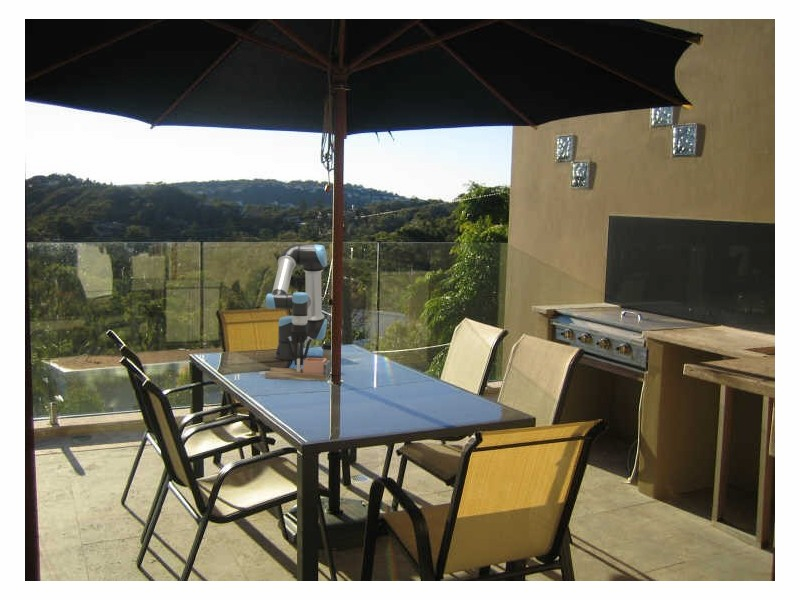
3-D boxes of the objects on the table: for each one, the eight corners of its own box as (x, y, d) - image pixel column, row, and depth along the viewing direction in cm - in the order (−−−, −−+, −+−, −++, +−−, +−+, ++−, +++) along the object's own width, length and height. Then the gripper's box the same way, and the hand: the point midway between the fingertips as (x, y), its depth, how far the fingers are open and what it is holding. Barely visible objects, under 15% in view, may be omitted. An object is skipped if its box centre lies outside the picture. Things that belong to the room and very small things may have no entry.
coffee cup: (341, 372, 423) (341, 343, 421) (337, 375, 413) (338, 346, 412) (322, 371, 424) (323, 342, 422) (319, 374, 414) (319, 345, 413)
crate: (306, 373, 411) (306, 357, 410) (326, 374, 410) (326, 358, 409) (303, 376, 402) (303, 360, 401) (323, 377, 401) (323, 361, 400)
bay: (270, 373, 414) (271, 357, 413) (329, 376, 411) (330, 360, 411) (264, 378, 402) (265, 362, 401) (325, 381, 400) (326, 364, 399)
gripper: (284, 324, 401) (284, 372, 403) (311, 325, 400) (310, 373, 402) (288, 322, 408) (287, 369, 411) (314, 323, 407) (313, 370, 409)
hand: (298, 371), depth 406 cm, fingers closed
